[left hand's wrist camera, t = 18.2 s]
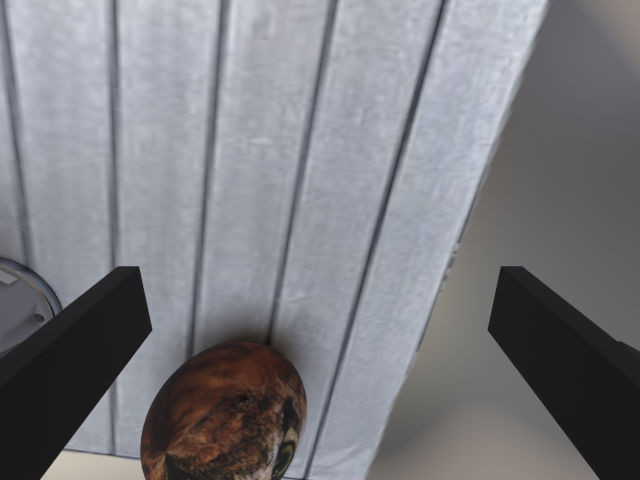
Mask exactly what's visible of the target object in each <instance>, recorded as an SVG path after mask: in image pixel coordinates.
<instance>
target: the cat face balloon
mask: <svg viewBox="0 0 640 480" xmlns="http://www.w3.org/2000/svg"><path fill="white" fill-rule="evenodd" d="M306 420H307V400H306V394H305V389H304V386H303V383H302V380H301V378H300V376H299V374H298V372H297V370H296V369H295V367H294V366H293V365H292V363H291V362H290V361H289V360H288V359H287V358H286V357H285V356H284V355H283V354H281V353H280V352H278V351H277V350H275V349H273V348H271V347H269V346H267V345H264V344H261V343H256V342H249V341H236V342H229V343H224V344H220V345H217V346H214V347H211V348H209V349H207V350H205V351H203V352H201V353H199V354H197V355H196V356H194V357H192V358H191V359H190V360H188V361H187V362H185V363H184V364H183V365H182V366H181V367H179V368H178V369H177V370H176V371H175V372H174V373H173V374H172V375H171V376H170V378H169V379H168V380H167V381H166V382H165V384H164V385H163V386H162V388H161V389H160V391H159V392H158V394H157V395H156V397H155V399H154V401H153V402H152V404H151V407H150V409H149V411H148V414H147V416H146V420H145V423H144V426H143V431H142V436H141V446H140V457H141V464H142V469H143V473H144V476H145V479H146V480H281V479H282V477H283V476H284V475H285V473H286V472H287V470H288V469H289V467H290V466H291V464H292V462H293V460H294V459H295V457H296V455H297V452H298V450H299V448H300V445H301V442H302V439H303V436H304V432H305V427H306Z"/></svg>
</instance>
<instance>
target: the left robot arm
mask: <svg viewBox="0 0 640 480" xmlns="http://www.w3.org/2000/svg"><path fill="white" fill-rule="evenodd" d="M151 331H152V326H151V321H150V316H149V312H148V307H147V302H146V297H145V292H144V288H143V283H142V278H141V273H140V269H139V266H118V267H116V268H115V269H114V270H113V271H111V272H110V273H109V274H108V275H106V276H105V277H104V278H103V279H101V280H100V281H99V282H97V283H96V284H95V285H94V286H92V287H91V288H90V289H89V290H87V291H86V292H85V293H84V294H82V295H81V296H80V297H78V298H77V299H76V300H75V301H73V302H72V303H71V304H70V305H68V306H67V307H66V308H65V309H63V310H62V311H61V308H60V305H59V302H58V300H57V298H56V297H55V295H54V293H53V292H52V291H51V289H50V288H49V287H48V286H47V284H46V283H45V282H44V281H43V280H42V279H40V278H39V277H38V276H37V275H36V274H34V273H33V272H32V271H30V270H28V269H27V268H25V267H23V266H21V265H19V264H17V263H15V262H13V261H10V260H7V259H3V258H0V480H40V479H41V478H42V476H43V475H44V474H45V472H46V471H47V470H48V468H49V467H50V466H51V464H52V463H53V462H54V460H55V459H56V458H57V456H58V455H59V454H60V452H61V451H62V450H63V448H64V447H65V446H66V444H67V443H68V442H69V440H70V439H71V438H72V436H73V435H74V434H75V432H76V431H77V430H78V428H79V427H80V426H81V425H82V423H83V422H84V421H85V419H86V418H87V417H88V415H89V414H90V413H91V411H92V410H93V409H94V407H95V406H96V405H97V403H98V402H99V401H100V399H101V398H102V397H103V395H104V394H105V393H106V391H107V390H108V389H109V387H110V386H111V385H112V383H113V382H114V381H115V379H116V378H117V377H118V375H119V374H120V373H121V371H122V370H123V369H124V367H125V366H126V365H127V363H128V362H129V361H130V359H131V358H132V357H133V355H134V354H135V353H136V351H137V350H138V349H139V347H140V346H141V345H142V343H143V342H144V341H145V339H146V338H147V337H148V335H149V334H150V333H151ZM488 331H489V333H490V334H491V335H492V337H493V338H494V339H495V341H496V342H497V343H498V345H499V346H500V347H501V349H502V350H503V351H504V353H505V354H506V355H507V357H508V358H509V359H510V361H511V362H512V363H513V365H514V366H515V367H516V369H517V370H518V371H519V373H520V374H521V375H522V377H523V378H524V379H525V380H526V382H527V383H528V385H529V386H530V387H531V389H532V390H533V391H534V393H535V394H536V395H537V397H538V398H539V399H540V401H541V402H542V403H543V405H544V406H545V407H546V409H547V410H548V411H549V413H550V414H551V415H552V416H553V418H554V419H555V421H556V422H557V423H558V424H559V426H560V427H561V428H562V430H563V431H564V432H565V434H566V435H567V436H568V438H569V439H570V440H571V442H572V443H573V444H574V446H575V447H576V448H577V450H578V451H579V452H580V454H581V455H582V456H583V458H584V459H585V460H586V462H587V463H588V464H589V466H590V467H591V468H592V470H593V471H594V472H595V474H596V475H597V476H598V478H599V479H600V480H640V351H638V350H636V349H634V348H633V347H630V346H629V345H627V344H625V343H623V342H621V341H620V342H618V341H616V340H615V339H614V338H612V337H611V336H610V335H608V334H607V333H606V332H605V331H603V330H602V329H601V328H600V327H598V326H597V325H596V324H594V323H593V322H592V321H591V320H589V319H588V318H587V317H586V316H584V315H583V314H582V313H581V312H579V311H578V310H577V309H575V308H574V307H573V306H572V305H570V304H569V303H568V302H567V301H565V300H564V299H563V298H562V297H560V296H559V295H558V294H556V293H555V292H554V291H553V290H551V289H550V288H549V287H548V286H546V285H545V284H544V283H542V282H541V281H540V280H539V279H537V278H536V277H535V276H534V275H532V274H531V273H530V272H529V271H527V270H526V269H525V268H524V267H522V266H501V269H500V273H499V278H498V283H497V288H496V293H495V297H494V302H493V307H492V312H491V316H490V321H489V326H488Z"/></svg>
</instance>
